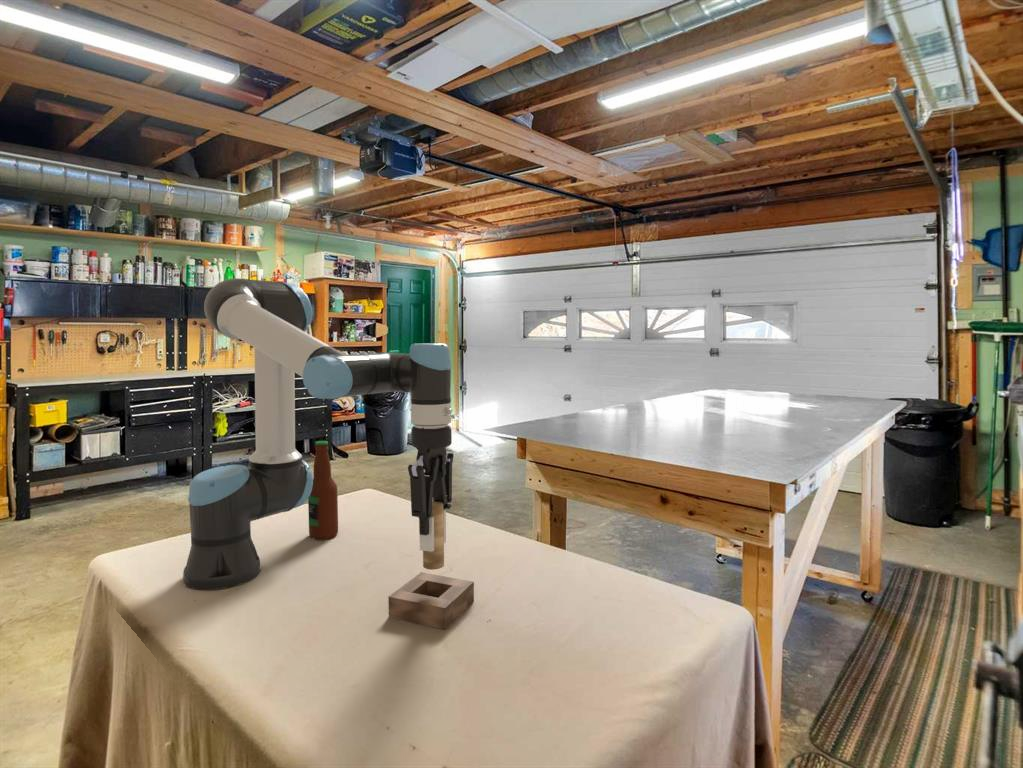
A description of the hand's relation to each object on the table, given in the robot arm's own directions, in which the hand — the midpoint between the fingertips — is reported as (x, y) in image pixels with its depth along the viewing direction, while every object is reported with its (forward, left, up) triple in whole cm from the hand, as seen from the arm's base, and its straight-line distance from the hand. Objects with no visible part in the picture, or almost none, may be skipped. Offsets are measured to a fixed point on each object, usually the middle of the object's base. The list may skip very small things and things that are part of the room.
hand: (433, 545), depth 111 cm
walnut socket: (0, 0, -13) cm, 13 cm away
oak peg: (0, 0, -4) cm, 4 cm away
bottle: (-47, +25, -13) cm, 54 cm away
